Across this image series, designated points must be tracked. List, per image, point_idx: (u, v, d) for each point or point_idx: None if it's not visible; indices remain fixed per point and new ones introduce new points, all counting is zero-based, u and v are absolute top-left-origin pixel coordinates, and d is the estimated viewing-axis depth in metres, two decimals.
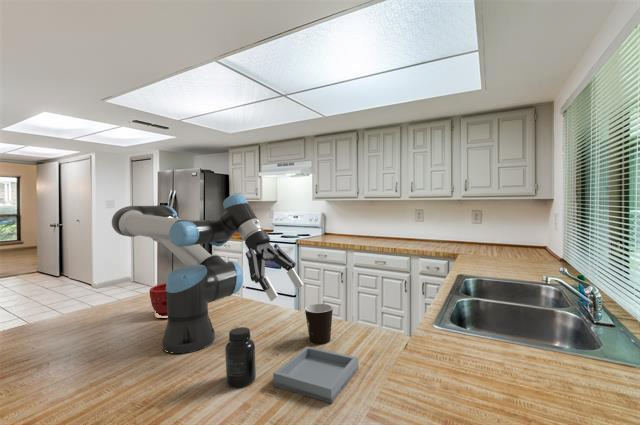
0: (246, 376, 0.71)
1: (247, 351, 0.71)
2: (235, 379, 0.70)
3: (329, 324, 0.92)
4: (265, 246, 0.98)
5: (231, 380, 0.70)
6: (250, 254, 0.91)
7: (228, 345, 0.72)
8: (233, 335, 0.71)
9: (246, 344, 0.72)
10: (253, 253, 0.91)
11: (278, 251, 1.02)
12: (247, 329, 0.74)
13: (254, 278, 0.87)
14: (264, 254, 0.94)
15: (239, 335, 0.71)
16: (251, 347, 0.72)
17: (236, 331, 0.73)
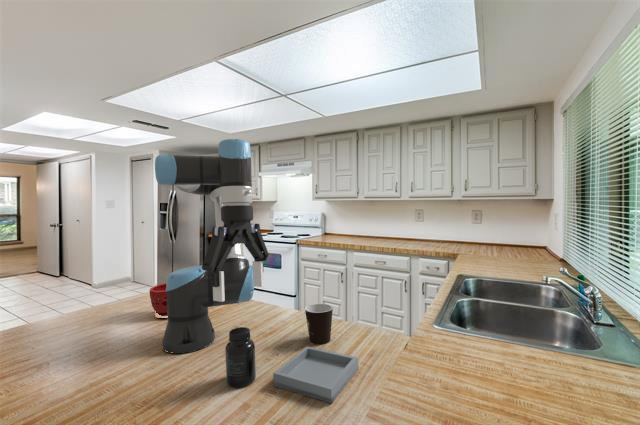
0: (246, 376, 0.71)
1: (247, 351, 0.71)
2: (235, 379, 0.70)
3: (329, 324, 0.92)
4: (243, 225, 0.74)
5: (231, 380, 0.70)
6: (217, 233, 0.67)
7: (228, 345, 0.72)
8: (233, 335, 0.71)
9: (246, 344, 0.72)
10: (222, 234, 0.68)
11: (256, 234, 0.79)
12: (247, 329, 0.74)
13: (206, 269, 0.65)
14: (235, 238, 0.71)
15: (239, 335, 0.71)
16: (251, 347, 0.72)
17: (236, 331, 0.73)
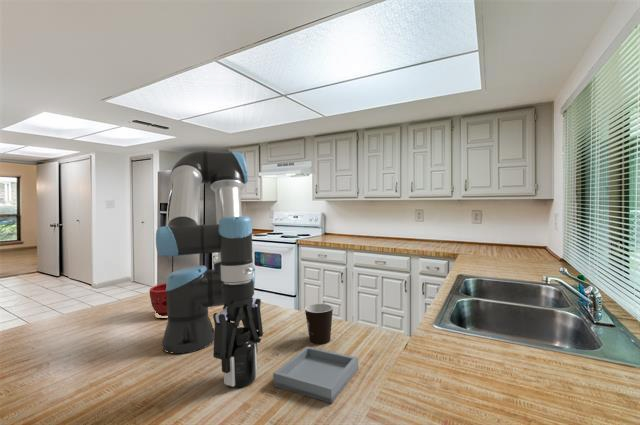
0: (246, 376, 0.71)
1: (247, 351, 0.71)
2: (235, 379, 0.70)
3: (329, 324, 0.92)
4: (243, 301, 0.73)
5: None
6: (219, 322, 0.67)
7: None
8: None
9: (246, 343, 0.72)
10: (224, 321, 0.68)
11: (255, 309, 0.78)
12: (247, 329, 0.74)
13: (217, 357, 0.67)
14: (238, 319, 0.71)
15: (239, 335, 0.71)
16: (251, 347, 0.72)
17: (236, 331, 0.73)
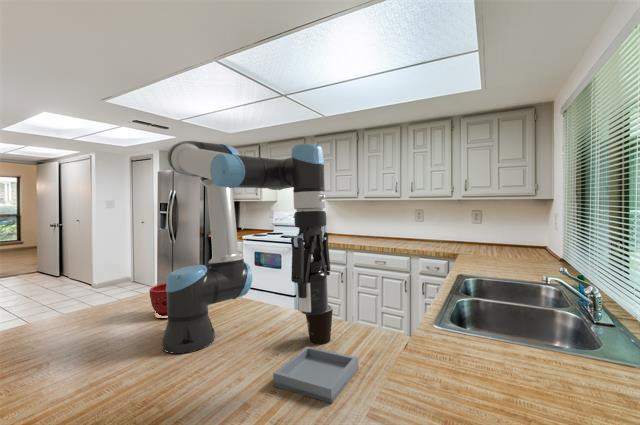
0: (321, 304, 0.70)
1: (322, 278, 0.71)
2: (311, 305, 0.70)
3: (329, 324, 0.92)
4: (316, 231, 0.73)
5: None
6: (298, 245, 0.67)
7: None
8: None
9: (320, 272, 0.72)
10: (302, 245, 0.67)
11: (323, 243, 0.77)
12: (319, 259, 0.74)
13: (296, 281, 0.67)
14: (312, 246, 0.70)
15: (313, 262, 0.71)
16: (325, 275, 0.72)
17: None
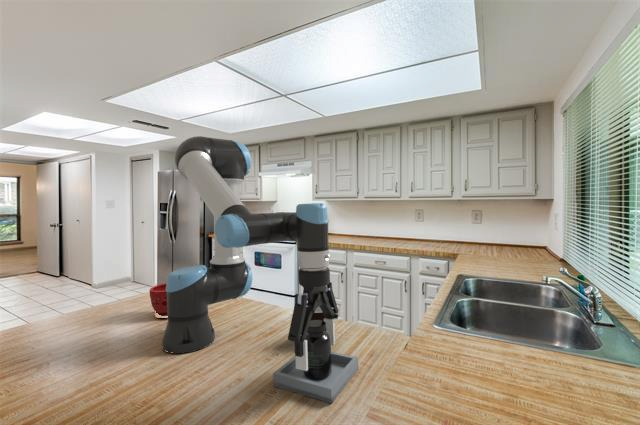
0: (325, 369, 0.71)
1: (326, 343, 0.71)
2: (315, 371, 0.70)
3: None
4: (319, 288, 0.73)
5: (310, 372, 0.71)
6: (301, 302, 0.67)
7: (306, 337, 0.72)
8: (312, 327, 0.72)
9: (324, 336, 0.72)
10: (305, 303, 0.67)
11: (328, 292, 0.78)
12: (323, 322, 0.74)
13: (292, 340, 0.65)
14: (315, 304, 0.70)
15: (318, 327, 0.71)
16: (329, 339, 0.72)
17: (313, 324, 0.73)
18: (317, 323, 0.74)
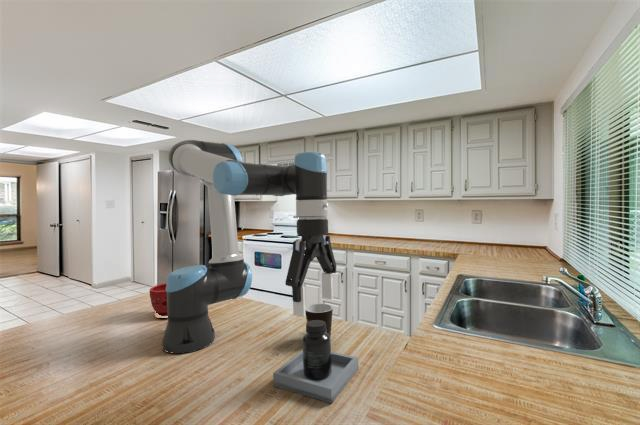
0: (325, 368, 0.71)
1: (326, 343, 0.71)
2: (315, 371, 0.70)
3: (329, 324, 0.92)
4: (318, 238, 0.73)
5: (310, 372, 0.71)
6: (299, 248, 0.67)
7: (306, 337, 0.72)
8: (312, 327, 0.72)
9: (324, 336, 0.72)
10: (303, 249, 0.67)
11: (326, 246, 0.78)
12: (323, 322, 0.74)
13: (290, 284, 0.65)
14: (313, 253, 0.70)
15: (318, 327, 0.71)
16: (329, 339, 0.72)
17: (313, 323, 0.73)
18: (317, 323, 0.74)
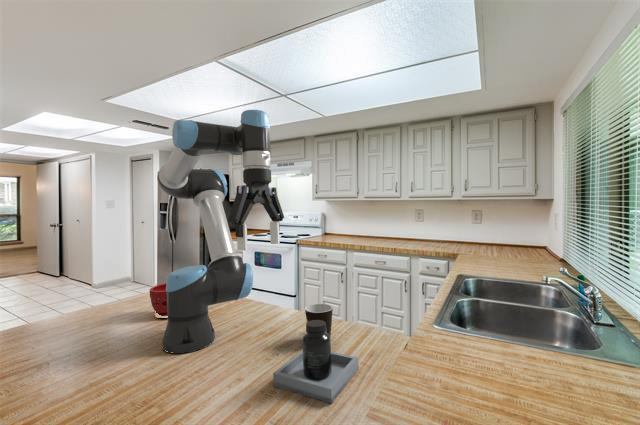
0: (325, 368, 0.71)
1: (326, 343, 0.71)
2: (315, 371, 0.70)
3: (329, 324, 0.92)
4: (262, 187, 0.84)
5: (310, 372, 0.71)
6: (241, 191, 0.77)
7: (306, 337, 0.72)
8: (312, 327, 0.72)
9: (324, 336, 0.72)
10: (245, 192, 0.77)
11: (273, 196, 0.89)
12: (323, 322, 0.74)
13: (232, 221, 0.75)
14: (256, 197, 0.80)
15: (318, 327, 0.71)
16: (329, 339, 0.72)
17: (313, 323, 0.73)
18: (317, 323, 0.74)
